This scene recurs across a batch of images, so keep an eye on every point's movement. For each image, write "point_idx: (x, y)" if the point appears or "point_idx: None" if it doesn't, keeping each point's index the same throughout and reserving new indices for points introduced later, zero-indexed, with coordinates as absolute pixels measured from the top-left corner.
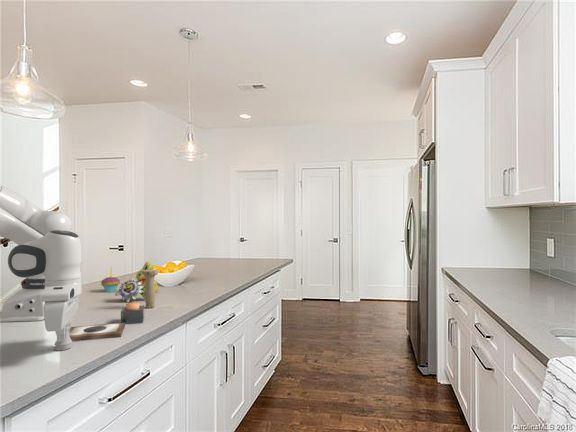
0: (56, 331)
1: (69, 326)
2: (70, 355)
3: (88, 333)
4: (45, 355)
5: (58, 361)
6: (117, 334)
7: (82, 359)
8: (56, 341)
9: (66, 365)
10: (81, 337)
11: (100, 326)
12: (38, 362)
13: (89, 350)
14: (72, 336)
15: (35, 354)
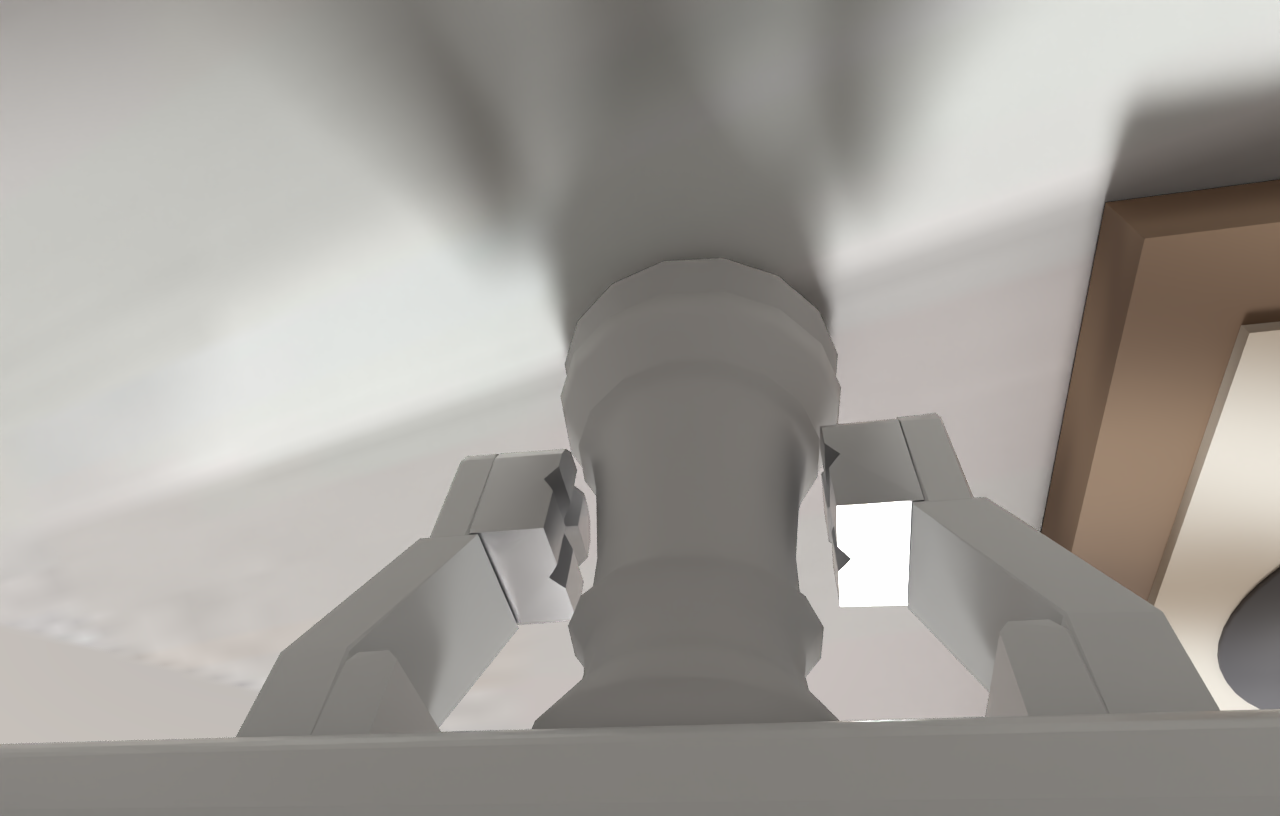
0: (319, 642)
1: (957, 648)
2: (399, 521)
3: (1173, 591)
4: (375, 228)
5: (192, 469)
6: None
7: (295, 636)
8: (664, 351)
9: (113, 565)
10: (1071, 513)
11: None
12: (89, 258)
13: (566, 634)
14: (1159, 405)
15: (414, 14)
